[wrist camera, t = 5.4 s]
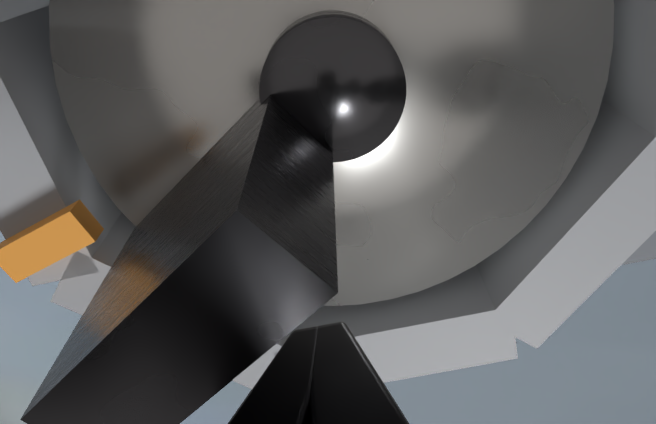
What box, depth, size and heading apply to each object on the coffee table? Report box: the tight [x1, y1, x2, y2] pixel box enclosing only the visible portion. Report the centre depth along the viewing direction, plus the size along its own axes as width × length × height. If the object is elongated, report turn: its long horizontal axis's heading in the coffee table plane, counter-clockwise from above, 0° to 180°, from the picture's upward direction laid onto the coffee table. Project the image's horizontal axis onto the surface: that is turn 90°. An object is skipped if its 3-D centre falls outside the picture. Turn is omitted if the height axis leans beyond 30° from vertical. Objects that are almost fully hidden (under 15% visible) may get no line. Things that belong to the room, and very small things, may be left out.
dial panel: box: [0, 0, 656, 389], centre depth 10 cm, size 12×12×4 cm
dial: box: [20, 0, 614, 424], centre depth 7 cm, size 8×8×6 cm
